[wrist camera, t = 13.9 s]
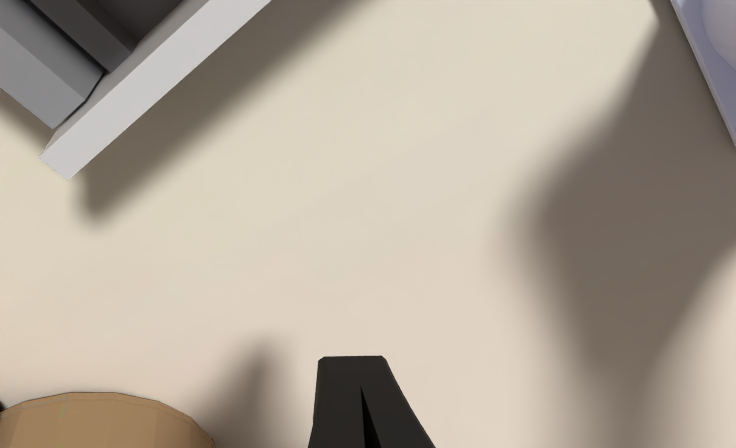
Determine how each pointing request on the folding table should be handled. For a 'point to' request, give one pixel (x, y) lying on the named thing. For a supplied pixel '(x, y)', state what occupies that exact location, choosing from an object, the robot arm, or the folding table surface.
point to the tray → (133, 62)
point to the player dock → (43, 63)
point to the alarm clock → (98, 423)
